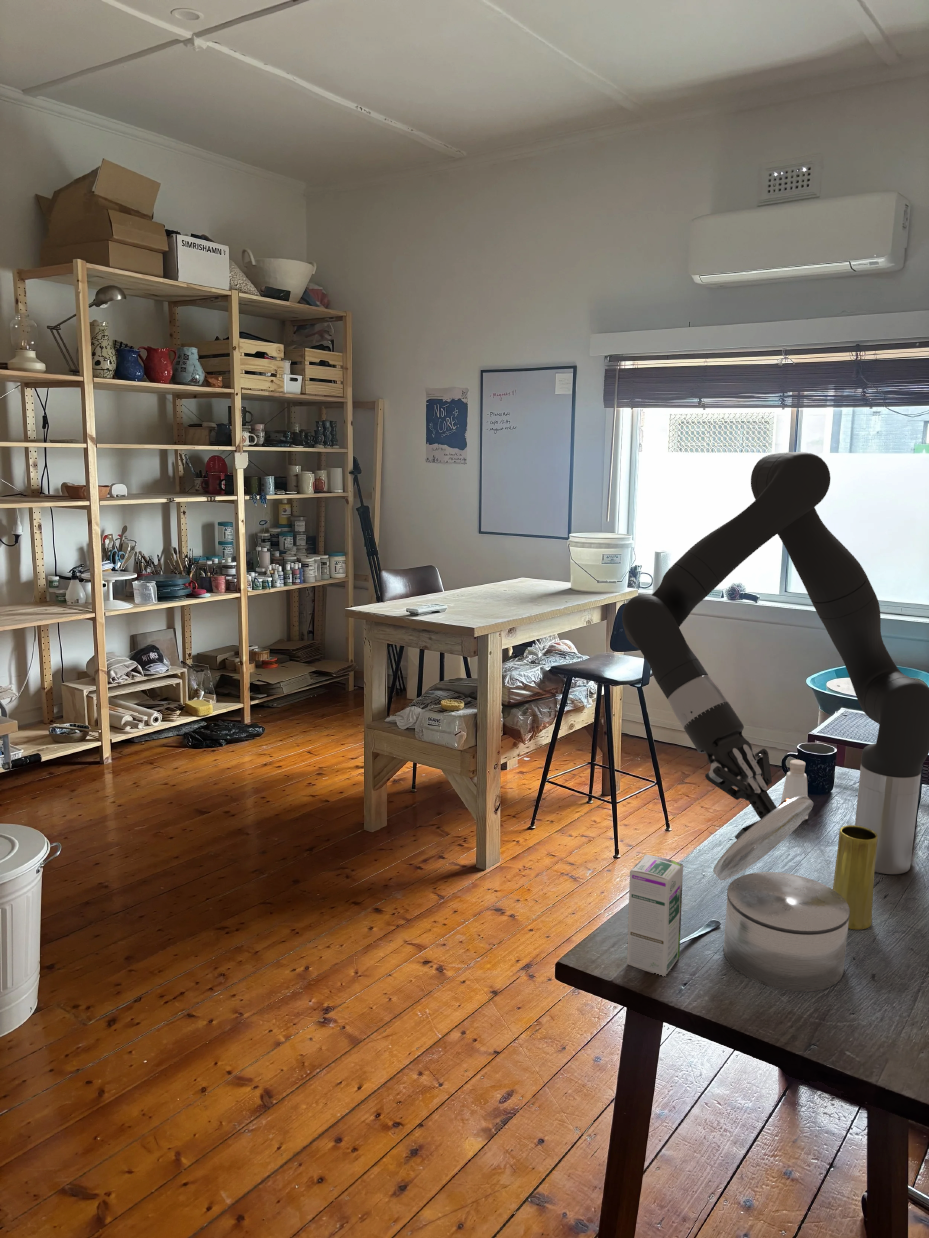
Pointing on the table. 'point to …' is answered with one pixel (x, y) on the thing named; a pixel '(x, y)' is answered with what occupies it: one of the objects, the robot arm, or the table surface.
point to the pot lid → (762, 836)
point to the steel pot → (786, 931)
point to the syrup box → (654, 914)
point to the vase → (856, 873)
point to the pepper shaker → (795, 781)
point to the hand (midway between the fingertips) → (772, 819)
